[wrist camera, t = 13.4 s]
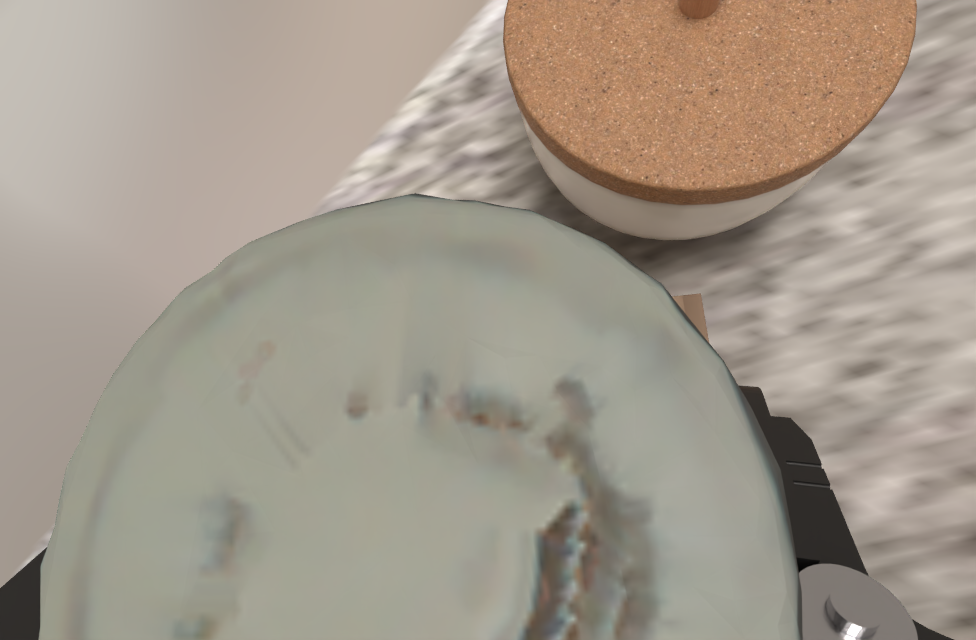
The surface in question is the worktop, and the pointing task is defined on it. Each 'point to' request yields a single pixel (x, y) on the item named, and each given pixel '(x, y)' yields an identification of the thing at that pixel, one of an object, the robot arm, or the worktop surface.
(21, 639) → the robot arm
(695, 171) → the white lidded bowl
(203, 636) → the sauce bottle
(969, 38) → the worktop surface
